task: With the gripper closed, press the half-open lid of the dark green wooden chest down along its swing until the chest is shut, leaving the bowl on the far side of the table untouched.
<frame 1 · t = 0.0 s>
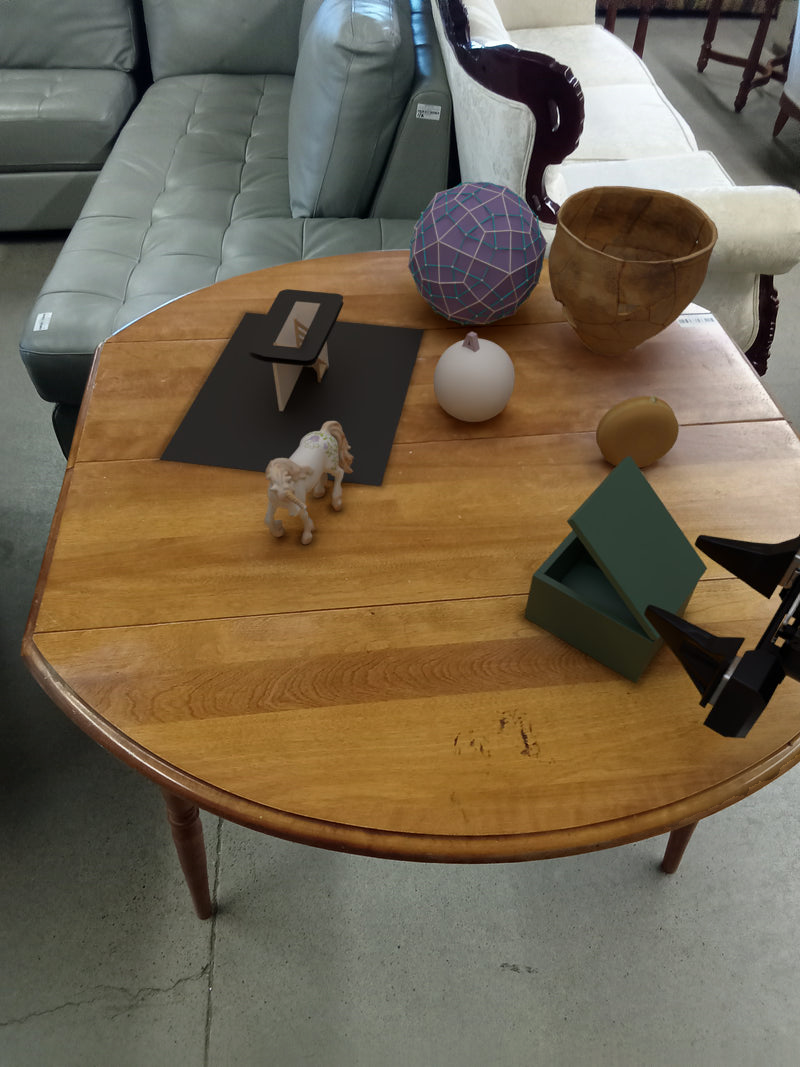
hand: (672, 572, 60), 17 cm above the table, tool horizontal, fingers open, 9 cm apart
chest: (603, 615, 78), on the table
ornament: (471, 413, 101), on the table
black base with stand: (304, 389, 104), on the table
decorative sphere: (471, 316, 117), on the table
doughnut: (628, 464, 94), on the table
lid: (640, 545, 69), point 12 cm above the table, hinge at 40.0°
unicorn figurine: (328, 533, 86), on the table
bowl: (604, 353, 110), on the table
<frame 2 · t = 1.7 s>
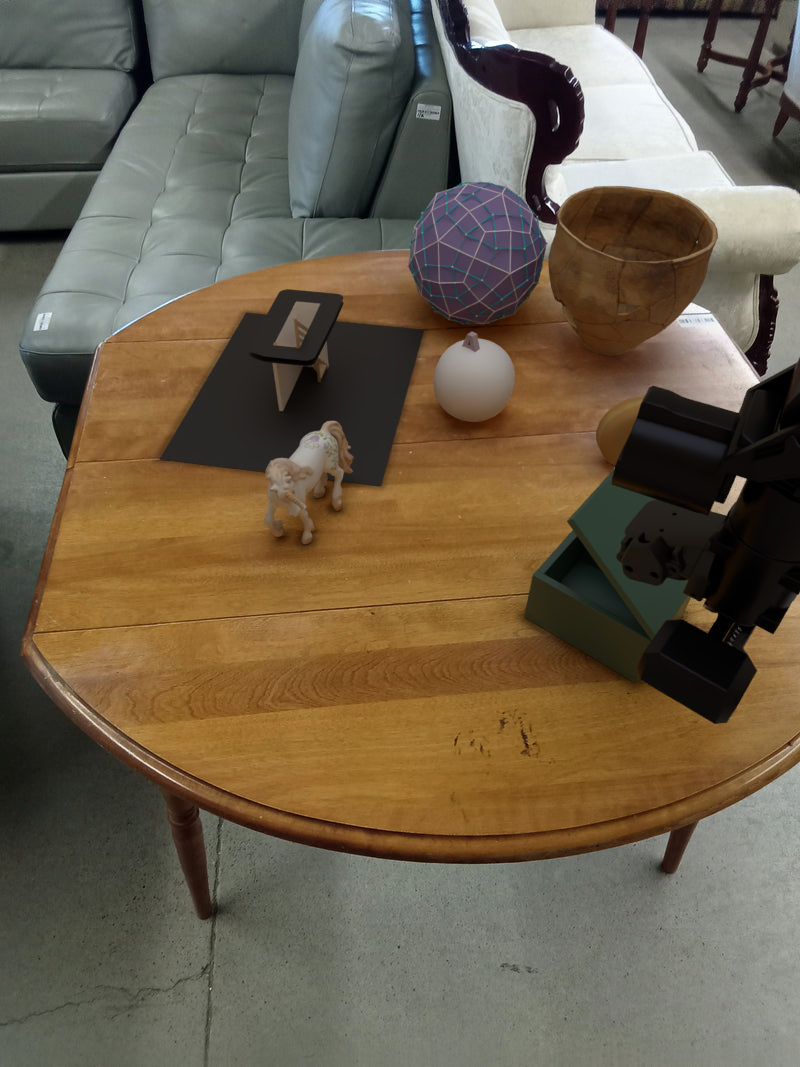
hand: (702, 667, 58), 13 cm above the table, tool pointing down, fingers open, 6 cm apart
nothing on the table moved.
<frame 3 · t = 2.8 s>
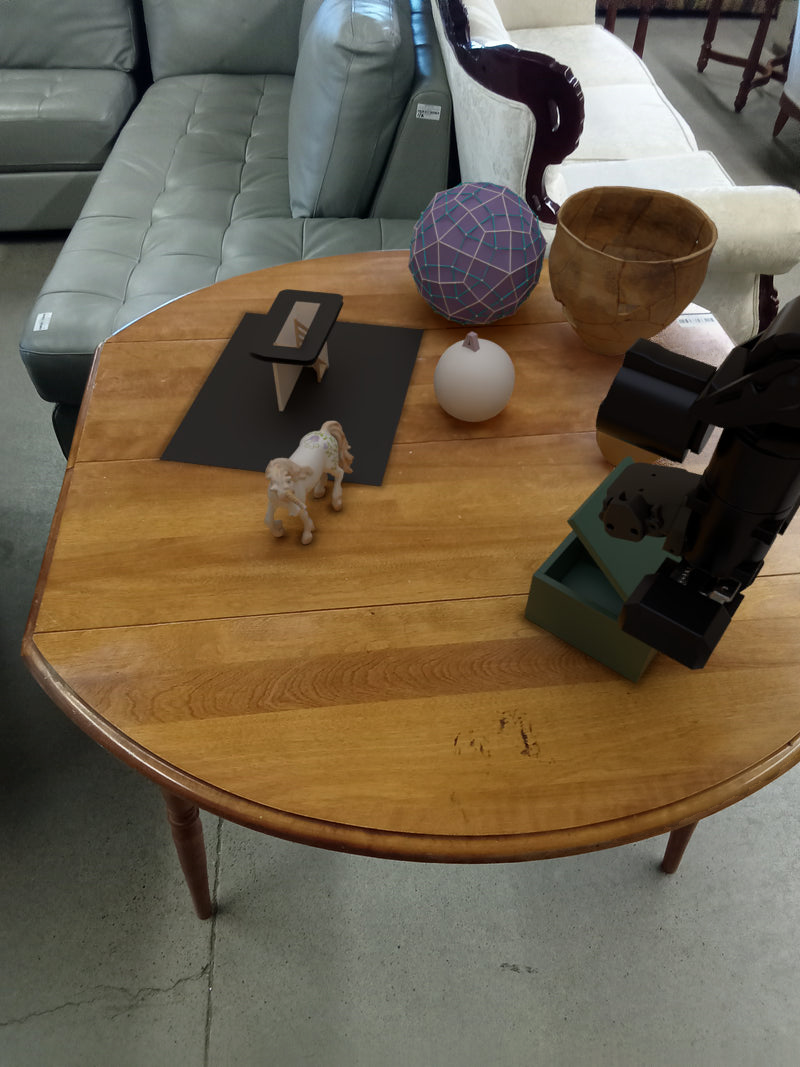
hand: (682, 625, 61), 13 cm above the table, tool pointing down, fingers closed
nothing on the table moved.
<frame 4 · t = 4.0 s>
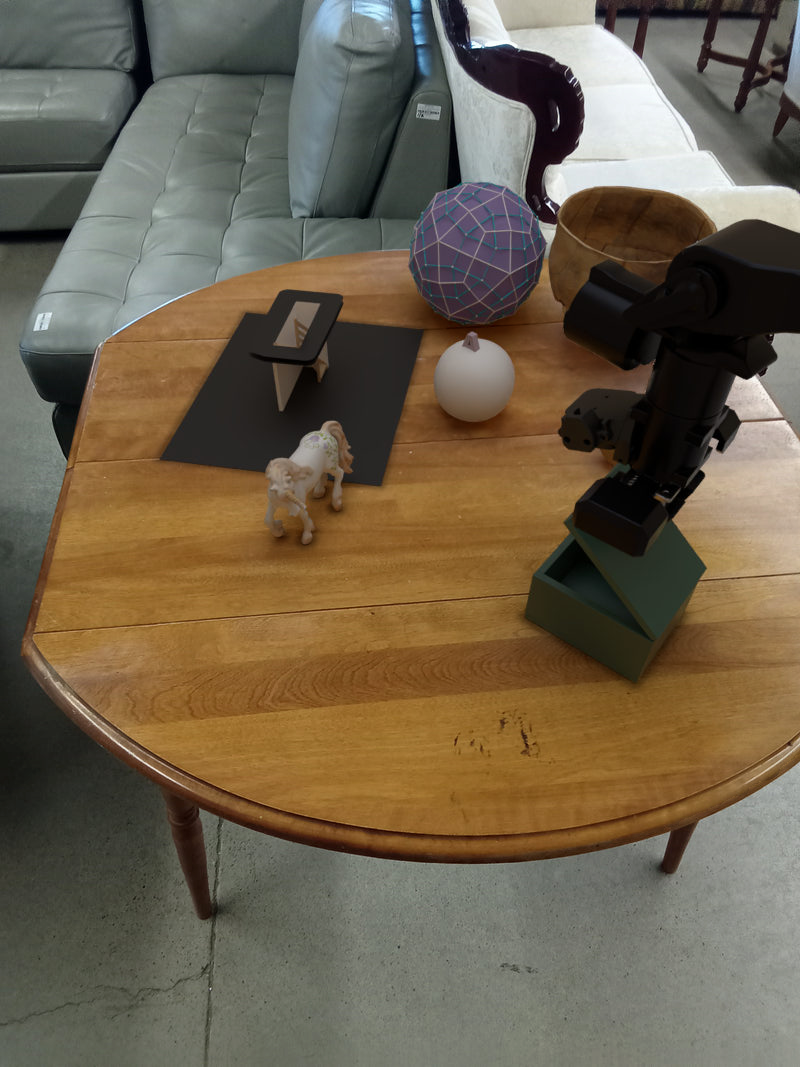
hand: (636, 537, 68), 12 cm above the table, tool pointing down, fingers closed, pressing on lid
lid: (638, 546, 69), point 11 cm above the table, hinge at 37.9°, touching gripper
everything else where it was.
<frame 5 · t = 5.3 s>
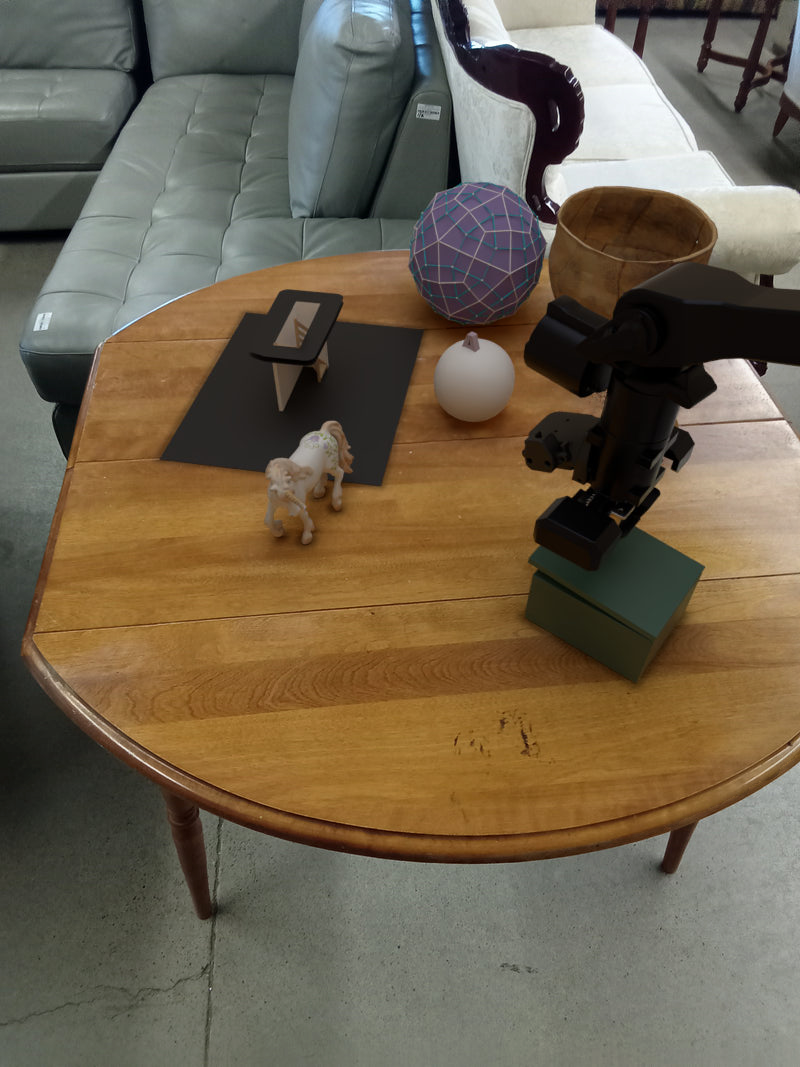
hand: (598, 550, 72), 8 cm above the table, tool pointing down, fingers closed, pressing on lid
lid: (616, 564, 72), point 8 cm above the table, hinge at 5.0°, touching gripper
everything else where it was.
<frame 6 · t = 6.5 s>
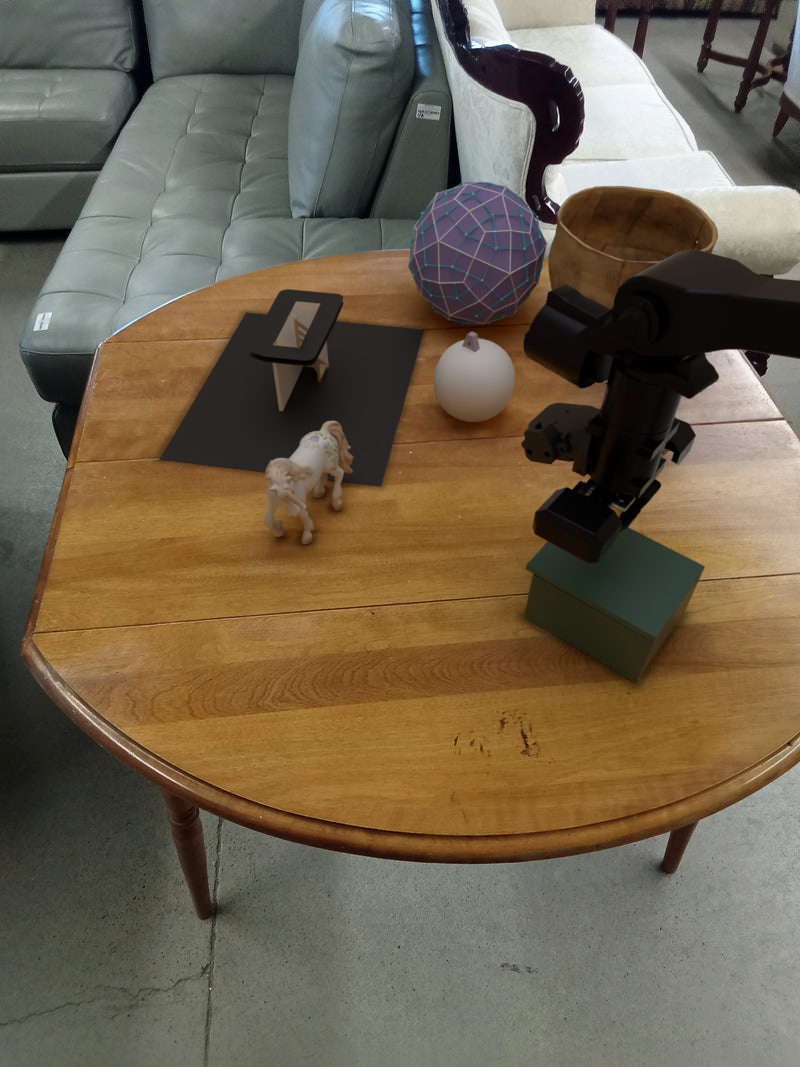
hand: (598, 543, 72), 9 cm above the table, tool pointing down, fingers closed
lid: (615, 567, 72), point 7 cm above the table, hinge at 0.6°
everything else where it was.
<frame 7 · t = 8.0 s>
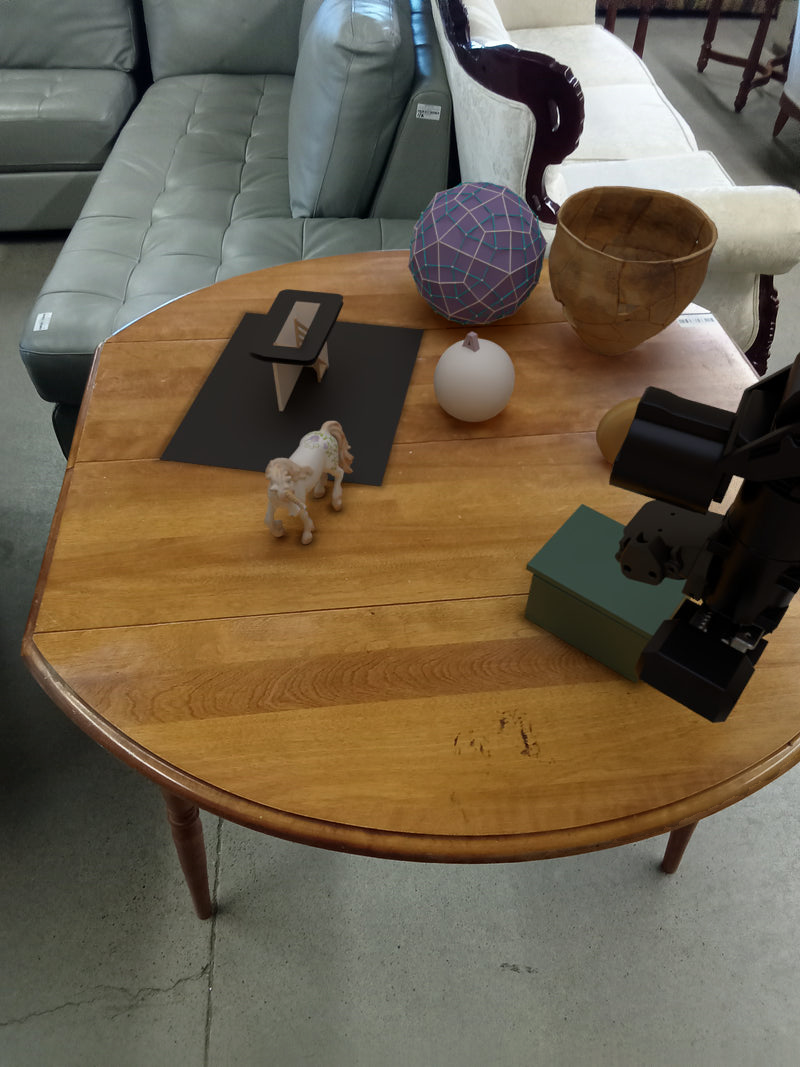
hand: (701, 667, 58), 13 cm above the table, tool pointing down, fingers closed
nothing on the table moved.
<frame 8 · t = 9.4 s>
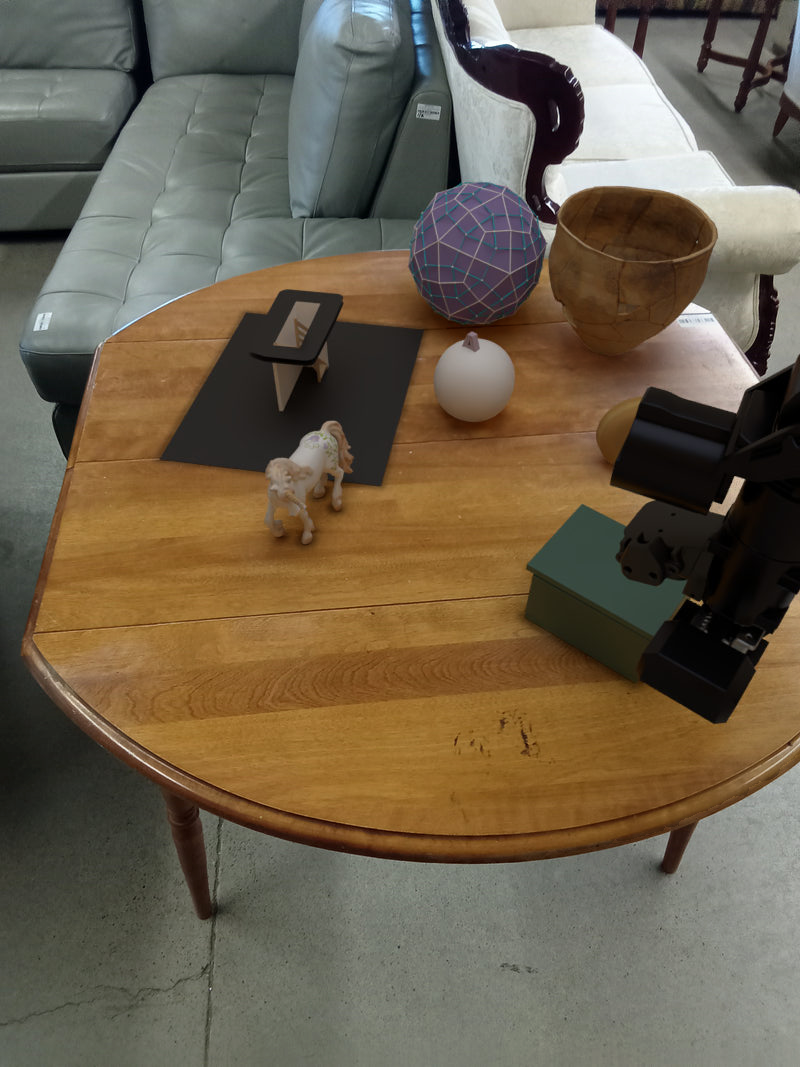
hand: (702, 667, 58), 13 cm above the table, tool pointing down, fingers closed
nothing on the table moved.
at the end: lid at +1° (first picture: +40°); bowl moved 0.2 cm from its start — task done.
